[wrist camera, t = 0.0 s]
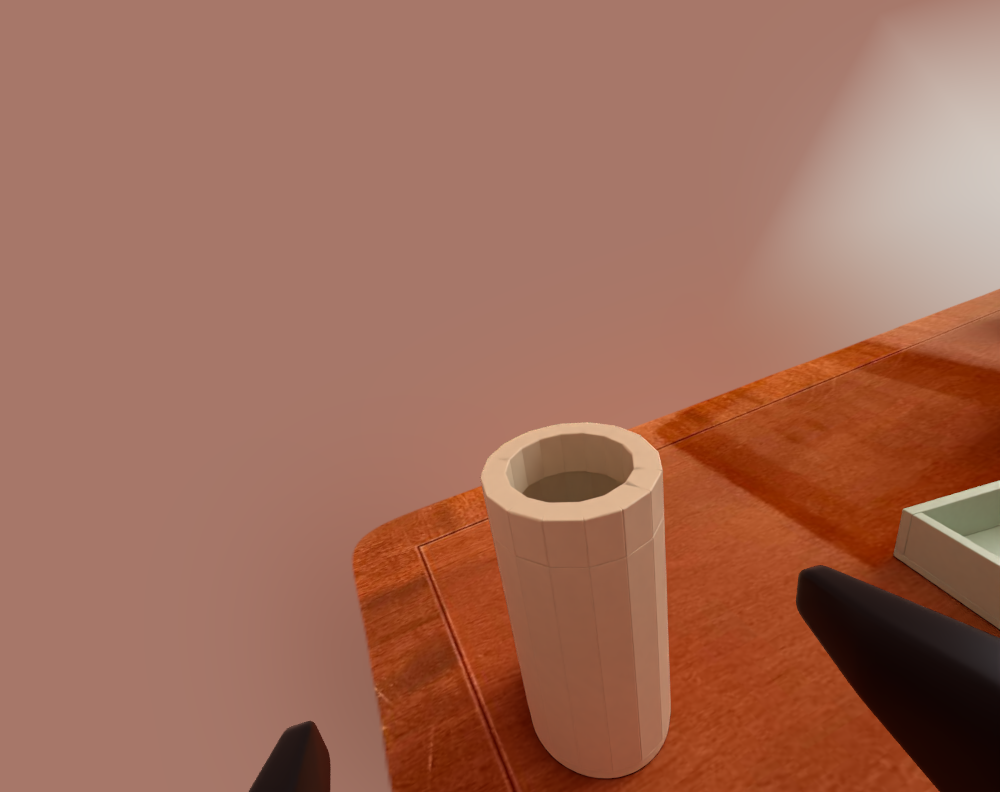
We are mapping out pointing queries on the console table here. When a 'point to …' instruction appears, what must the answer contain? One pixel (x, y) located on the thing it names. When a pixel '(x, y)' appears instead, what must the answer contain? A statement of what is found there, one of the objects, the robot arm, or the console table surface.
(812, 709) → the console table surface
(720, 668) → the console table surface
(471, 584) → the console table surface
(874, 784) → the console table surface
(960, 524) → the tray
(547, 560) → the jar
